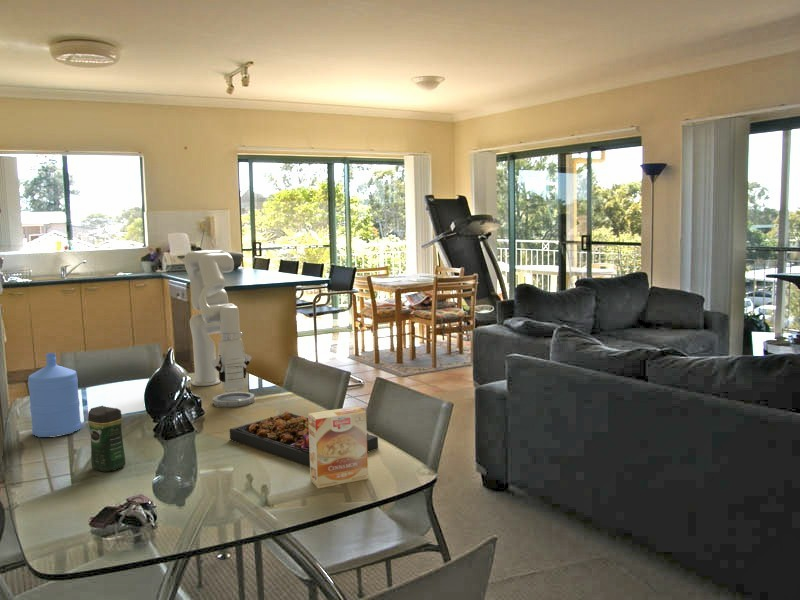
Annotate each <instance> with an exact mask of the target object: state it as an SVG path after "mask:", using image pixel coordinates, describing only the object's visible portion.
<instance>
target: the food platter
mask: <svg viewBox="0 0 800 600" xmlns="http://www.w3.org/2000/svg"><path fill="white" fill-rule="evenodd" d="M230 439H231V440H233V441H232V442H234V441H236V442H235V443H237V442H239V443H238V444H240V443H241V444H240V445H243V444H244V445H243V446H246V447H249V448H252V449H255V450H258V451H262V452H264V453H267V454H270V455H272V456H275V457H277V458H278V457H279V458H282V459H285V460H287V461H291V462H293V463H296V464H298V465H301V466H306V467H308V468H310V452H309V424H308V417H305V416H302V415H298V414H294V413H292V412H289V411H285V412H283V413H282V414H277V415H275V416H270V417H267V418H264V419H260V420H258V421H257V420H256V421H254V422H250V423H246V424H242V425H239V426H235V427H231V428H230V429H229V440H230ZM231 440H230V441H231ZM376 448H378V449H379V437H378V436H376V435H373V434H369V433H368V432H367V452H368V451H370V452H372V451H371V450H373V449H376ZM376 450H377V449H376ZM373 451H374V450H373ZM368 453H369V452H368Z"/></svg>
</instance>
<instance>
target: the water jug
mask: <svg viewBox="0 0 800 600" xmlns="http://www.w3.org/2000/svg"><path fill="white" fill-rule="evenodd" d="M56 355H57V353H56V352H51V353H46V354H45V357H46V359H45V361H46V366H44V367H42V368H40V369H39V370H36V371H35V372H33V373H31V374H30V375H29V376H28V378H27V380H28V381H27V385H28V387H27V388H28V392H29V402H30V403H29V404H30V405H29V409H30V416H31V424H32V425H31V426H32V427H31V432H32V435H33V436H34V435H35V436H34V437H36V436H38V437H37V438H40V437H50V436H57V435H63V434H67V433H71V432H74V431H77V430H78V431H80V430H81V428H82V421H81V412H80V411H81V410H80V405H81V403H80V398H79V397H80V396H79V386H78V384H79V382H78V375H77V374H78V373H77V371H76V370H74V369H71V368H68V367H65V366H61V365H58V364H57V357H56ZM79 429H80V430H79ZM78 431H77V432H78Z"/></svg>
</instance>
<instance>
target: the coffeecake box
mask: <svg viewBox="0 0 800 600" xmlns="http://www.w3.org/2000/svg"><path fill="white" fill-rule="evenodd" d="M307 415H308V416H307V418H308V424H309V452H310V467H309V474H310V477H309V478H310V482H311V483H312V484H313V485H314V486H315V487H316V488H317V489H324V488H327V487H332V486H337V485H344V484H348V483H354V482H358V481H364V480H368V479H369V476H368V475H369V473H368V472H369V467H368V466H369V465H368V463H369V462H368V453H367V433H368V430H367V429H368V426H367V411H365V410H364V409H362V408H361V407H360V406H357V405H356V406H352V407H344V408H335V409H330V410H329V409H328V410H323V411H316V412H315V411H314V412H309V413H307Z"/></svg>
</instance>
